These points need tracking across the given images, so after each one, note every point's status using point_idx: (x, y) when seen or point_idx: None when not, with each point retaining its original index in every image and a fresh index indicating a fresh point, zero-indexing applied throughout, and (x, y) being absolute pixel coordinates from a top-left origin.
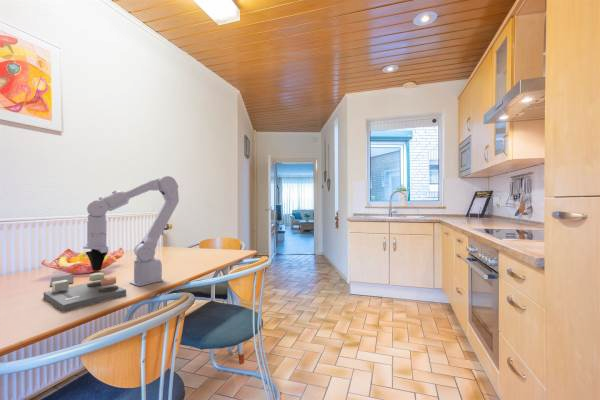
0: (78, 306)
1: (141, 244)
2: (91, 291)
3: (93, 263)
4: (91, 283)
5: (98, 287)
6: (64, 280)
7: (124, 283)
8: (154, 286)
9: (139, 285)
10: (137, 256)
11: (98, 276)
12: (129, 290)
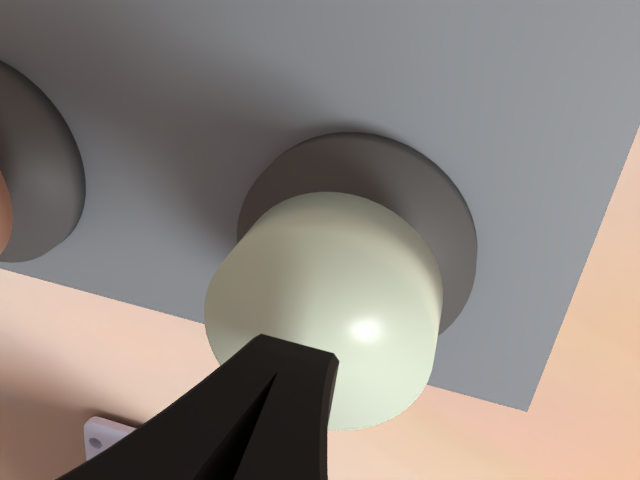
0: None
1: None
2: (62, 13)
3: (132, 437)
4: (401, 214)
5: (187, 168)
6: None
7: (339, 461)
8: (4, 445)
9: (87, 423)
10: None
11: (215, 288)
12: (50, 314)
